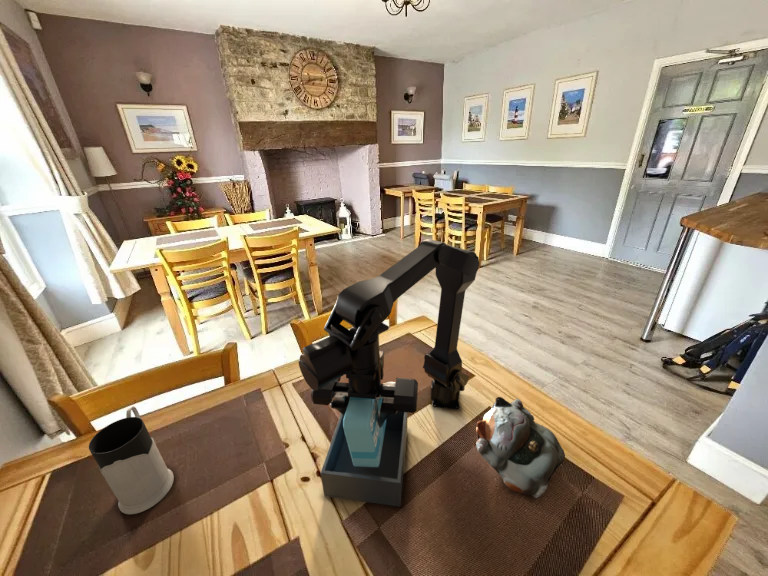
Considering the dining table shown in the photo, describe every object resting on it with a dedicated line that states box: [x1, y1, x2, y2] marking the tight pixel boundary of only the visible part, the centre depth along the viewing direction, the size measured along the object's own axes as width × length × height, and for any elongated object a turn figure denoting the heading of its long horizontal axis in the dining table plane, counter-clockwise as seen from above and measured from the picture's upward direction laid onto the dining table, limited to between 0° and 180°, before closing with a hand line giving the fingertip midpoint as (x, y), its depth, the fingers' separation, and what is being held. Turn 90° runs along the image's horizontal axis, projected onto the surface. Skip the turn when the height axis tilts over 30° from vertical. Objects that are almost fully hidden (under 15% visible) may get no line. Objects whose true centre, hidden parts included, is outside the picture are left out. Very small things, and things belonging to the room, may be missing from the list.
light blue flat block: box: [343, 397, 386, 467], centre depth 59 cm, size 12×4×12 cm, turn 172°
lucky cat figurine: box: [475, 396, 566, 499], centre depth 61 cm, size 15×12×14 cm
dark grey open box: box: [320, 411, 408, 508], centre depth 62 cm, size 14×16×7 cm
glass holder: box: [88, 405, 175, 515], centre depth 59 cm, size 9×14×15 cm, turn 27°
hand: (367, 424), depth 60 cm, fingers closed on light blue flat block, 5 cm apart
